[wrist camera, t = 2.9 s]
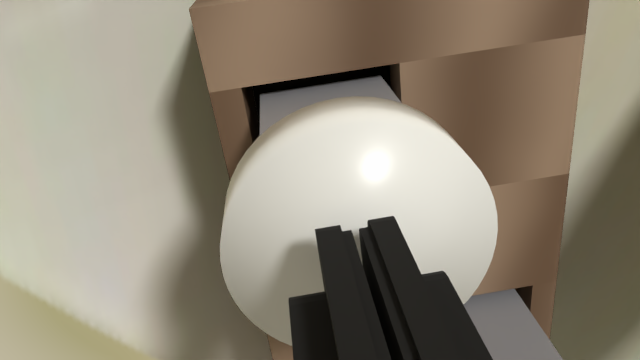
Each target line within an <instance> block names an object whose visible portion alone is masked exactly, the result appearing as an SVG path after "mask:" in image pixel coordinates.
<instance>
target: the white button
mask: <svg viewBox="0 0 640 360" xmlns="http://www.w3.org/2000/svg"><path fill="white" fill-rule="evenodd" d="M389 216H394V217H395V219H396V221H397V223H398V225H399V227H400V229H401V232H402V234H403V236H404V238H405V240H406V242H407V244H408V247H409V249H410V251H411V253H412V255H413V257H414V259H415V262H416V264H417V266H418V268H419V270H420V272H421V274H427V273H432V272H438V271H444V272H445V273H446V274H447V276H448V277H449V279H450V281H451V283H452V285H453V286H454V288H455V290H456V292H457V294H458V296H459V298H460V299H461V301H462V303H463V305H464V304H465V303H466V302H467V301H468V300H469V298H470V297H471V296H472V294H473V293H474V292H475V291H476V289H477V288H478V286H479V285H480V283H481V281H482V280H483V278H484V276H485V274H486V272H487V270H488V268H489V265H490V263H491V261H492V258H493V254H494V250H495V247H496V241H497V232H498V220H497V211H496V205H495V200H494V197H493V195H492V192H491V189H490V187H489V184H488V183H487V181H486V179H485V177H484V176H483V174H482V172H481V171H480V169H479V168H478V167H477V166H476V165H475V163H474V162H473V161H472V160H471V158H470V157H469V156H468V155H467V154H466V153H465V152H464V150H463V149H462V148H461V147H460V146H459V145H458V144H457V142H456V141H455V140H454V139H453V138H452V137H451V136H450V135H449V133H448V132H447V131H446V130H445V129H444V128H442V127H441V126H440V125H439V124H438V123H437V122H436V121H435V120H433V119H432V118H430V117H429V116H427V115H426V114H424V113H423V112H421V111H419V110H417V109H414V108H412V107H410V106H408V105H405V104H402V103H401V101H400V100H399V99H398V98H397V96H396V95H395V94H394V92H393V91H392V90H391V88H390V87H389V86H388V85H387V83H386V82H385V81H384V79H383V78H382V77H381V75H378V76H371V77H365V78H358V79H352V80H346V81H339V82H333V83H326V84H320V85H314V86H307V87H301V88H294V89H288V90H281V91H275V92H269V93H262V94H260V136H259V137H258V138H257V139H256V140H255V141H254V143H253V144H252V145H251V146H250V147H249V148H248V150H247V151H246V152H245V154H244V155H243V157H242V158H241V160H240V161H239V163H238V165H237V167H236V169H235V171H234V173H233V175H232V177H231V180H230V183H229V187H228V190H227V194H226V201H225V208H224V216H223V224H222V232H221V239H220V263H221V268H222V273H223V277H224V280H225V283H226V285H227V288H228V291H229V292H230V294H231V296H232V298H233V300H234V301H235V303H236V304H237V306H238V307H239V308H240V310H241V311H242V312H243V314H244V315H245V316H246V317H247V318H248V319H249V320H250V321H251V322H252V323H253V324H254V325H256V326H257V327H258V328H260V329H261V330H262V331H264V332H265V333H266V334H268V335H270V336H272V337H273V338H275V339H277V340H279V341H281V342H283V343H286V344H288V345H290V346H292V337H291V325H290V313H289V298H290V297H295V296H301V295H307V294H312V293H318V292H324V285H323V279H322V272H321V266H320V260H319V253H318V247H317V241H316V234H315V229H318V228H324V227H330V226H336V225H340V226H341V229H342V231H347V230H352V233H353V236H354V240H355V243H356V246H357V249H358V253H359V256H360V259H361V262H362V256H361V247H360V238H359V228H365V227H368V226H367V221H368V220H371V219H377V218H383V217H389ZM362 266H363V265H362Z"/></svg>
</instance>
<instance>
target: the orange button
mask: <svg viewBox="0 0 640 360" xmlns="http://www.w3.org/2000/svg"><path fill="white" fill-rule="evenodd" d="M464 307H465V309H466V310H467V312H468V314H469V316H470V318H471V320H472V322H473V323H474V325H475V327H476V329H477V331H478V333H479V335H480V336H481V338H482V340H483V342H484V344H485V346H486V348H487V349H488V351H489V353H490V355H491V357H492V359H493V360H563V359H562V357H561V356H560V354H559V353H558V351H557V350H556V348H555V347H554V345H553V344H552V343H551V341H550V340H549V338H548V337H547V335H546V334H545V332H544V331H543V329H542V328H541V327H540V325H539V324H538V322H537V321H536V319H535V318H534V316H533V315H532V313H531V312H530V311H529V309H528V308H527V306H526V305H525V303H524V302H523V300H522V299H521V297H520V296H519V295H518V293H517V292H516V290H515V289H509V290H503V291H497V292H491V293H485V294H480V295H474V296H471V297H470V298H469V300H468V301H467V302H466V303H465V304H464Z"/></svg>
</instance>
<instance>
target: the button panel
mask: <svg viewBox="0 0 640 360" xmlns="http://www.w3.org/2000/svg"><path fill="white" fill-rule="evenodd" d="M588 8H589V0H196V1H195V2H194V4H193V5H192V6H191V7H190V8H189V12H190V16H191V20H192V24H193V28H194V32H195V37H196V41H197V45H198V49H199V53H200V57H201V62H202V66H203V70H204V74H205V78H206V82H207V87H208V91H209V95H210V99H211V103H212V108H213V112H214V116H215V120H216V124H217V128H218V133H219V137H220V141H221V145H222V149H223V153H224V158H225V162H226V166H227V170H228V174H229V178H230V180H231V177H232V175H233V173H234V171H235V169H236V167H237V165H238V163H239V161H240V160H241V158H242V157H243V155H244V154H245V152H246V151H247V150H248V148H249V147H250V146H251V145H252V144H253V143H254V141H255V140H256V139H257V138H258V137H259V136H260V122H259V117H258V112H257V107H256V102H255V97H254V91H253V86H256V85H262V84H269V83H275V82H281V81H288V80H294V79H301V78H307V77H314V76H320V75H327V74H333V73H339V72H346V71H352V70H359V69H365V68H372V67H378V66H384V65H390V79H391V90H392V91H393V92H394V94H395V95H396V96H397V98H398V99H399V100H400V101H401V103H402V104H405V105H408V106H410V107H412V108H414V109H417V110H419V111H421V112H423V113H424V114H426V115H427V116H429V117H430V118H432V119H433V120H435V121H436V122H437V123H438V124H439V125H440V126H441V127H442V128H444V129H445V130H446V131H447V132H448V133H449V135H450V136H451V137H452V138H453V139H454V140H455V141H456V142H457V144H458V145H459V146H460V147H461V148H462V149H463V150H464V152H465V153H466V154H467V155H468V156H469V157H470V158H471V160H472V161H473V162H474V163H475V165H476V166H477V167H478V168H479V169H480V171H481V172H482V174H483V176H484V177H485V179H486V181H487V183H488V184H489V187H490V189H491V192H492V195H493V197H494V200H495V205H496V211H497V220H498V232H497V241H496V247H495V250H494V254H493V258H492V261H491V263H490V265H489V268H488V270H487V272H486V274H485V276H484V278H483V280H482V281H481V283H480V285H479V286H478V288H477V289H476V291H475V292H474V293H473V294H472V296H474V295H480V294H485V293H491V292H497V291H503V290H509V289H515V290H516V292H517V293H518V295H519V296H520V297H521V299H522V300H523V302H524V303H525V305H526V306H527V308H528V309H529V311H530V312H531V313H532V315H533V316H534V318H535V319H536V321H537V322H538V324H539V325H540V327H541V328H542V329H543V331H544V332H545V334H546V335H547V337H548V338H549V340H550V333H551V324H552V315H553V307H554V298H555V290H556V281H557V273H558V264H559V256H560V247H561V238H562V230H563V221H564V213H565V204H566V196H567V187H568V179H569V170H570V162H571V153H572V144H573V136H574V127H575V119H576V110H577V102H578V93H579V85H580V76H581V67H582V59H583V50H584V42H585V33H586V25H587V16H588ZM267 337H268V341H269V345H270V350H271V354H272V358H273V360H293V349H292V346H290V345H288V344H286V343H283V342H281V341H279V340H277V339H275V338H273V337H272V336H270V335H268V334H267Z"/></svg>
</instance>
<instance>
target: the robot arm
mask: <svg viewBox="0 0 640 360" xmlns="http://www.w3.org/2000/svg"><path fill="white" fill-rule="evenodd" d="M367 226H368V227H365V228H359V238H360V247H361V256H362V262H361V259H360V256H359V253H358V249H357V246H356V243H355V240H354V236H353V233H352V230H347V231H342V229H341V226H340V225H336V226H330V227H324V228H318V229H315V234H316V241H317V247H318V253H319V260H320V266H321V272H322V279H323V285H324V292H318V293H312V294H307V295H301V296H295V297H290V298H289V313H290V325H291V337H292V349H293V360H493V359H492V357H491V355H490V353H489V351H488V349H487V348H486V346H485V344H484V342H483V340H482V338H481V336H480V335H479V333H478V331H477V329H476V327H475V325H474V323H473V322H472V320H471V318H470V316H469V314H468V312H467V310H466V309H465V307H464V305H463V303H462V301H461V299H460V298H459V296H458V294H457V292H456V290H455V288H454V286H453V285H452V283H451V281H450V279H449V277H448V276H447V274H446V273H445V272H444V271H438V272H432V273H427V274H421V272H420V270H419V268H418V266H417V264H416V262H415V259H414V257H413V255H412V253H411V251H410V249H409V247H408V244H407V242H406V240H405V238H404V236H403V234H402V232H401V229H400V227H399V225H398V223H397V221H396V219H395V217H394V216H389V217H383V218H377V219H371V220H368V221H367ZM362 265H363V266H362Z"/></svg>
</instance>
